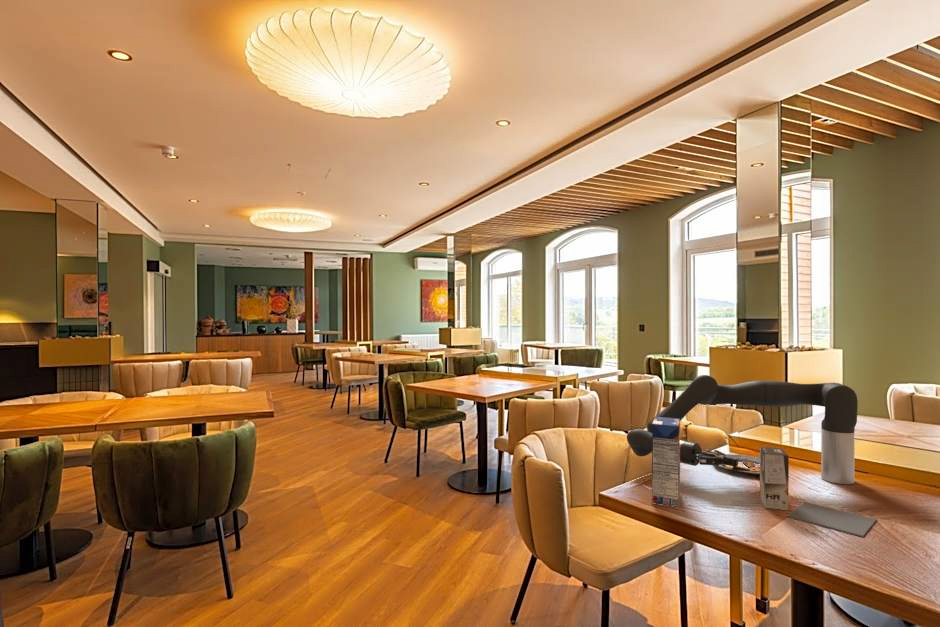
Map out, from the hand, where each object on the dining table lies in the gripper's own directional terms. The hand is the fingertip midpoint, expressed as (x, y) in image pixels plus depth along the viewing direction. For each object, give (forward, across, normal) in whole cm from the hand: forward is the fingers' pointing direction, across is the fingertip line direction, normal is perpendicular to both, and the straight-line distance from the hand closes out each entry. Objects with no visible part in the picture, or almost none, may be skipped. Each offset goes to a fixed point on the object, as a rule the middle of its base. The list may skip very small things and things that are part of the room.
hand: (737, 463), depth 159 cm
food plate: (-9, +32, +10) cm, 35 cm away
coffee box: (+10, 0, +10) cm, 14 cm away
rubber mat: (+25, 0, +10) cm, 27 cm away
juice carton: (-13, -21, +10) cm, 27 cm away
